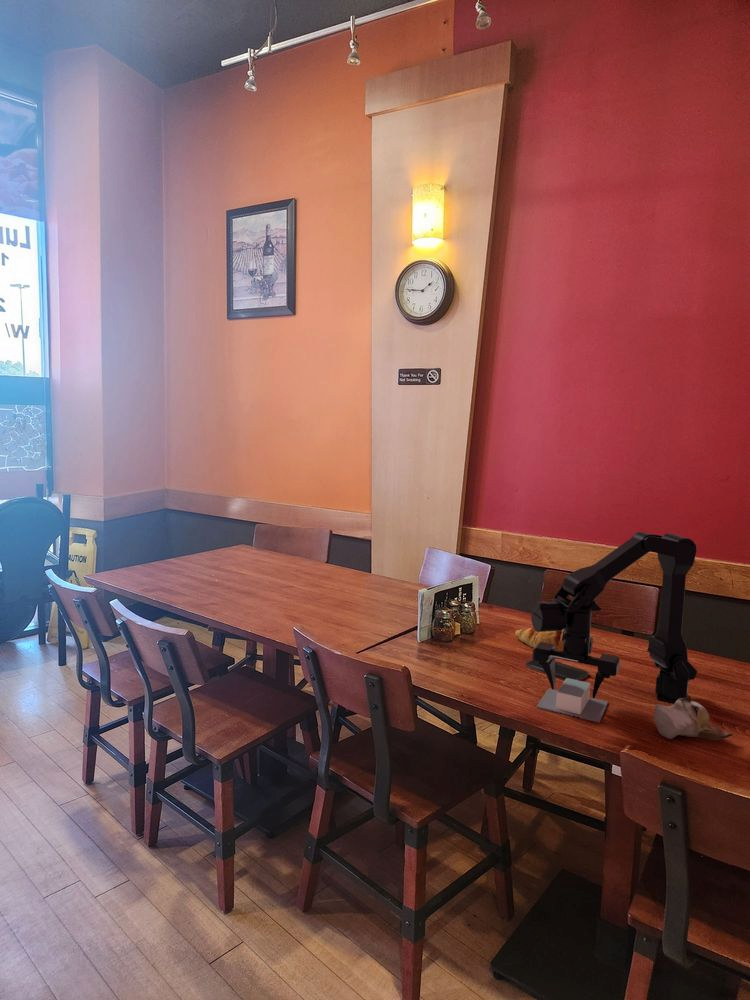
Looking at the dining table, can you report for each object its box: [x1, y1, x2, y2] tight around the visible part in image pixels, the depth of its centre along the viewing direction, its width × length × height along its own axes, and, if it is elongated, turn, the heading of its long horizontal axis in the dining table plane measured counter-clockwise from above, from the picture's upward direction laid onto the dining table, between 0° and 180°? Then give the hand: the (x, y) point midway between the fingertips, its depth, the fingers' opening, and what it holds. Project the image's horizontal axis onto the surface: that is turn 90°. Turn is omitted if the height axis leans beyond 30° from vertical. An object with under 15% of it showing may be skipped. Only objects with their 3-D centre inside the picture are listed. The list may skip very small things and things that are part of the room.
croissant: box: [514, 627, 564, 651], centre depth 189 cm, size 21×10×8 cm, turn 52°
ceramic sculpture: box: [653, 697, 733, 741], centre depth 139 cm, size 11×9×15 cm
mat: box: [536, 688, 609, 724], centre depth 153 cm, size 14×11×1 cm
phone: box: [525, 659, 590, 681], centre depth 172 cm, size 8×1×15 cm
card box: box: [556, 678, 591, 714], centre depth 152 cm, size 9×6×4 cm, turn 150°
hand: (573, 693), depth 152 cm, fingers open, 9 cm apart
